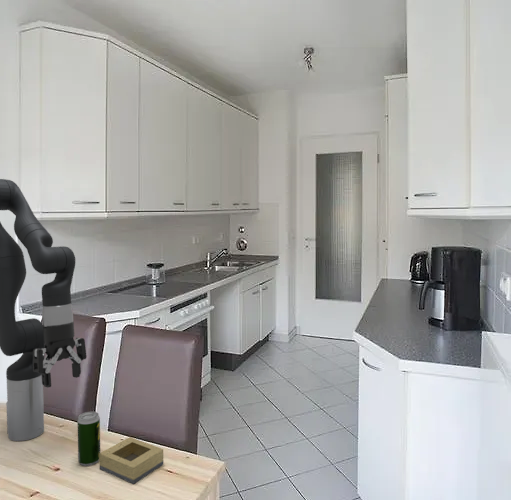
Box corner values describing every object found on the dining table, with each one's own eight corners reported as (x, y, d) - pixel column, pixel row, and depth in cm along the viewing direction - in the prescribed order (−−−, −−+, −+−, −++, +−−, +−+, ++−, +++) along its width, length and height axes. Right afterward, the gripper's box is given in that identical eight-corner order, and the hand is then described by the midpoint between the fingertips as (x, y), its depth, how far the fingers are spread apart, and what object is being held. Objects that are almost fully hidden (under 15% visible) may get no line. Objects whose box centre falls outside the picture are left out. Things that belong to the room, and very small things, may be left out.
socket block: (99, 469, 110) (99, 453, 110) (130, 451, 118) (130, 437, 118) (133, 484, 104) (133, 467, 103) (163, 464, 112) (163, 449, 112)
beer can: (80, 469, 110) (79, 422, 109) (76, 459, 114) (75, 414, 114) (102, 462, 113) (102, 417, 112) (97, 453, 117) (96, 409, 117)
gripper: (72, 316, 126) (76, 372, 126) (24, 326, 113) (28, 388, 114) (89, 317, 122) (93, 375, 122) (41, 327, 110) (46, 392, 110)
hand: (62, 381), depth 118 cm, fingers open, 8 cm apart
